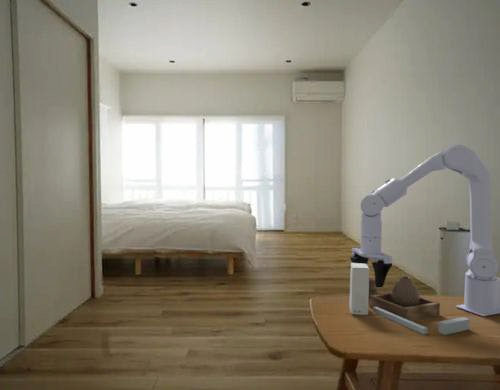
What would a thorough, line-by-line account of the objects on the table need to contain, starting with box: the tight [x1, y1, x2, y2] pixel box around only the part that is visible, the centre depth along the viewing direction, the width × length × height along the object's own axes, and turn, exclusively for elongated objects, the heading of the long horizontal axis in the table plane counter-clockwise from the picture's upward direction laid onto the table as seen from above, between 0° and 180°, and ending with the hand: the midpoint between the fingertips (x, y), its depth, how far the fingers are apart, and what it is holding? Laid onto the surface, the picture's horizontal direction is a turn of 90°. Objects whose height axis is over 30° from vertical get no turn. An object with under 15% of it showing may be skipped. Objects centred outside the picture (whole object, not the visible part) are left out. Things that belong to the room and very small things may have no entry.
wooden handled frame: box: [368, 278, 441, 321], centre depth 108 cm, size 12×20×5 cm, turn 25°
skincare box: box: [348, 262, 370, 316], centre depth 104 cm, size 6×4×12 cm
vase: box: [391, 276, 421, 308], centre depth 104 cm, size 7×7×9 cm
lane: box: [372, 307, 470, 336], centre depth 98 cm, size 12×18×2 cm
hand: (370, 283), depth 116 cm, fingers open, 7 cm apart
